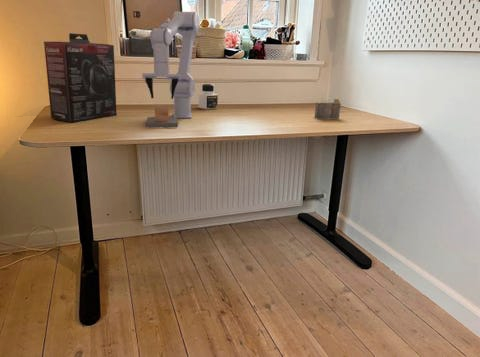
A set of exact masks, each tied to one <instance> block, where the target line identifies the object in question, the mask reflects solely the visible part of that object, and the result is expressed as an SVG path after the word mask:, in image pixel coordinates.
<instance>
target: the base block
mask: <svg viewBox="0 0 480 357" xmlns="http://www.w3.org/2000/svg"><path fill="white" fill-rule="evenodd" d="M178 121H179V120H178V118H177V117H173V116H171V117H170V116H169V120H168V121H155V116H147V118H146V121H145V128H146V127H178V124H179V123H178Z"/></svg>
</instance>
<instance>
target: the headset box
mask: <svg viewBox="0 0 480 357" xmlns="http://www.w3.org/2000/svg"><path fill="white" fill-rule="evenodd" d="M78 37H80V38H78ZM68 40H69V41H43V47H44V55H45V57H44V58H45V66H46V77H47V78H46V79H47V88H48V97H49V99H48V101H49V107H50V119H52V120H58V121H63V122H66V123H75V122H81V121H87V120H94V119H101V118H107V117H108V118H109V117H113V116H117V96H116V95H117V94H116V92H117V91H116V70H115V69H116V68H115V67H116V66H115V46H114V44H107V43H96V42H95V43H94V42H90V39H89V36H88V34H87V33H85V34H84V33H71V32H70V33H69V34H68Z"/></svg>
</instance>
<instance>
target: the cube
mask: <svg viewBox="0 0 480 357" xmlns="http://www.w3.org/2000/svg"><path fill="white" fill-rule="evenodd" d="M169 111H170V110H169V106H161V105H159V106H158V105H157V106H155V107H154V117H155V121H168V120H169V117H170V116H169V115H170V114H169Z"/></svg>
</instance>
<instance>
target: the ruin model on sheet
mask: <svg viewBox="0 0 480 357" xmlns="http://www.w3.org/2000/svg"><path fill="white" fill-rule="evenodd" d="M340 111H341V101H340V99H339V98H333V102H316V103H315V110H314V119H316V118H339V119H340Z"/></svg>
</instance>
